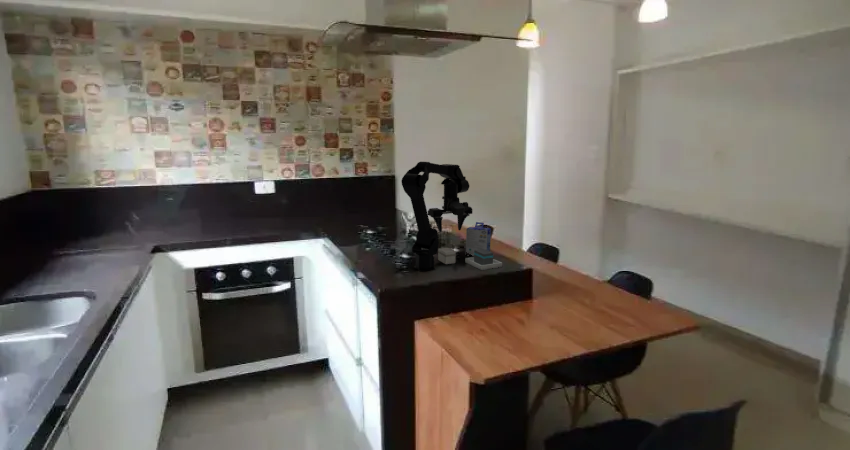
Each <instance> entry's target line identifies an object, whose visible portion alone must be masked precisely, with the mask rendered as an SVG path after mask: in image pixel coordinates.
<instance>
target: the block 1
mask: <svg viewBox="0 0 850 450" xmlns="http://www.w3.org/2000/svg"><path fill="white" fill-rule="evenodd" d="M437 253H438V254H437V260H438V261H439V262H441V263H443V264H445V265H448V264H449V265H450V264H451V265H452V264H455V263H456V257H457V255H456V253H457V252H456V250H453V249H452V248H450V247H442V248H438V249H437Z"/></svg>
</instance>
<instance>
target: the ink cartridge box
mask: <svg viewBox="0 0 850 450" xmlns="http://www.w3.org/2000/svg"><path fill="white" fill-rule="evenodd" d="M484 224H485V223H484V222H478V221H476V222H475V224H474V225H475V226H469V227H467V228H466V230H465V231H466V233H465V234H466V235H465V240H466V241H465V253H466V252H467V253H469V254H471V255H472V256H471V257H474V250H479V249H485V250H487V251H490V252H491V241H492V240H491V236H492V228H491V227H484Z"/></svg>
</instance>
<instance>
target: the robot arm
mask: <svg viewBox="0 0 850 450" xmlns="http://www.w3.org/2000/svg"><path fill="white" fill-rule="evenodd" d="M421 173H422V174H421ZM430 174H436V175H439V176H440V177H441V178H443V180H442V181H441V183H440V184H441V185H443V196H442V197H441V199H442V200H443V205H441V208H438V207H431V208H428V210H427V207H426V201H425V196H424V193H425V191H426V188H427V187H426V184H427V182H429V180H430ZM401 187H402V188H403V190H404V193H406V195H407V196H408V197H409V198H410V199H409V200H410V202H411V206H412V207H411V208H412V210H413V214H414V218H415V222H416V226H417V229H418V230H417V233H416V234H415V235H416V236H415V238H416V240H415V242H414V244H413V245H412V247H411V251H412V254H415V265H414V266H413V268H414V269H416V270H418V271H419V272H427V271H433V270H436V268H435V256H434V255H438V254H437V253H438V249H439V242H440V241H439V238H440V237H439V235H438V231H439V233H442V230H443V226H442V225H443V223H442V222H443V219H444V217H443V215H445V214H446V215H448V214H453V215H454V216H456V217H457V229H458V231H461V230H462V227H463V224H464V222H465V221H466V218H467V217H470V215H472V214H473V211H474V209H473V208H472V207H471V206H470V205H469V202H467V201H463V202H460V197H458V195H459V194H460V193H466V192H468V191H469V189H470V183H469V181H468V180H467V179H466V176H464V174H463V172H462V169H461V167H460V165H459V164H452V163H451V164H450V163H445V164H443V163H442V164H438V163H432V162H430V161H418V162H417V164H415V166H413V167H411V168H410V169H408V170H407V171H406V172H405V174H404V175H403V176H402V179H401ZM429 217H430V218H432V219H433V220H434V222H435V225H436V227H437V229H438V230H437V229H436V228H432V227H431V224H430V219H429Z"/></svg>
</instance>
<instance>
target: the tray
mask: <svg viewBox="0 0 850 450" xmlns="http://www.w3.org/2000/svg"><path fill="white" fill-rule="evenodd" d="M464 259H465V261H464V262H465V263H466V264H467V265H469V266H472V267H474V268H476V269H478V270H480V271H486V270H492V268H493V269H497V268H498V267H499V268H502V267H503V262H502V261H499V260H497V259H494V258H493V264H488V265H480V264H478V263H476V262H474V256H471V257H465V258H464ZM499 268H498V269H499Z"/></svg>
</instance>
